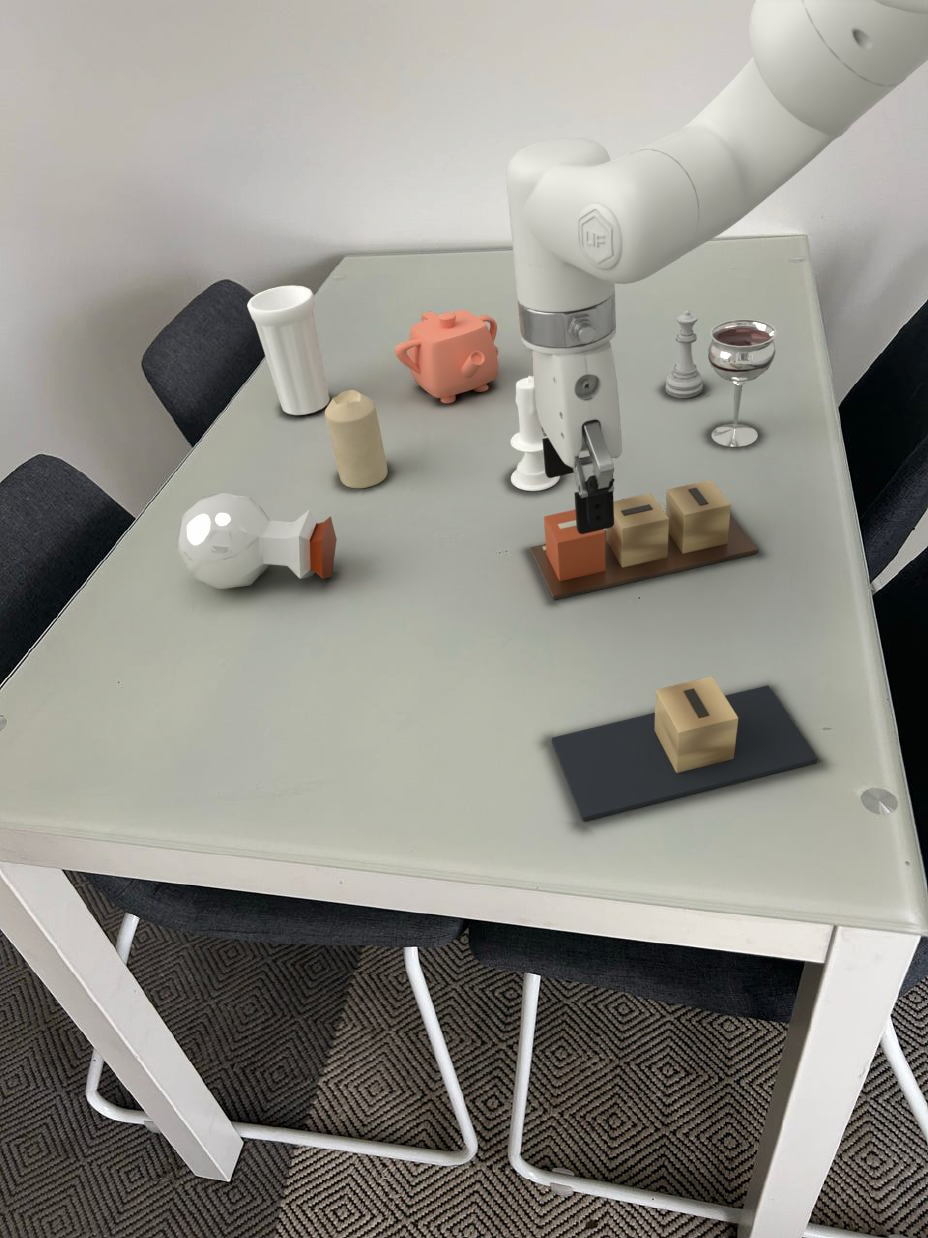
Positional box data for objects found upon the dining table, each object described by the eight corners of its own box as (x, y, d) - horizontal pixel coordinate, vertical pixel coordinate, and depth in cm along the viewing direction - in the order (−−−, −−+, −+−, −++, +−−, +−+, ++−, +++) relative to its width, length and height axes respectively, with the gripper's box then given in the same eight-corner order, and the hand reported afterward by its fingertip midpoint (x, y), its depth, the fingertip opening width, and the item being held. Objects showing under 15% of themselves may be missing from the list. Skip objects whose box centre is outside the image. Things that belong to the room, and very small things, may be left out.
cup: (347, 407, 119) (323, 298, 110) (288, 428, 117) (259, 318, 108) (323, 384, 125) (298, 279, 116) (266, 404, 123) (237, 298, 113)
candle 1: (386, 486, 104) (370, 405, 98) (337, 491, 104) (318, 411, 98) (390, 460, 108) (374, 381, 102) (343, 464, 109) (325, 386, 102)
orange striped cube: (590, 544, 91) (589, 505, 88) (605, 571, 88) (604, 531, 85) (546, 554, 91) (543, 515, 88) (559, 581, 87) (557, 542, 84)
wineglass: (763, 453, 101) (774, 348, 93) (699, 448, 103) (705, 345, 95) (768, 421, 105) (780, 319, 97) (707, 418, 107) (713, 317, 100)
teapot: (486, 413, 114) (478, 338, 108) (398, 405, 118) (385, 332, 112) (516, 369, 122) (510, 297, 116) (432, 363, 126) (422, 293, 120)
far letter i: (650, 531, 92) (651, 491, 89) (667, 557, 88) (669, 517, 85) (606, 541, 91) (605, 501, 88) (622, 567, 88) (621, 527, 85)
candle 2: (522, 462, 105) (514, 362, 97) (567, 468, 103) (562, 367, 95) (503, 487, 101) (493, 386, 93) (549, 495, 99) (542, 392, 91)
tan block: (709, 716, 73) (712, 674, 70) (734, 759, 69) (738, 717, 66) (654, 730, 72) (655, 688, 69) (676, 773, 69) (678, 731, 66)
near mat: (767, 689, 75) (768, 684, 74) (817, 762, 69) (818, 758, 68) (551, 741, 73) (551, 737, 73) (583, 821, 67) (582, 817, 67)
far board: (722, 508, 94) (722, 503, 94) (757, 553, 88) (758, 548, 87) (530, 551, 92) (530, 546, 92) (553, 600, 86) (553, 595, 86)
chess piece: (708, 394, 111) (713, 313, 105) (673, 401, 111) (676, 321, 105) (694, 378, 115) (698, 299, 108) (660, 385, 114) (662, 306, 108)
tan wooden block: (708, 518, 92) (711, 478, 89) (727, 543, 89) (731, 503, 86) (664, 527, 92) (666, 488, 89) (682, 554, 88) (684, 513, 85)
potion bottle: (195, 581, 97) (337, 592, 96) (156, 587, 87) (313, 600, 86) (199, 491, 96) (342, 502, 95) (160, 487, 86) (319, 499, 85)
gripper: (653, 349, 67) (653, 543, 78) (579, 271, 80) (588, 446, 91) (552, 371, 66) (566, 563, 77) (495, 289, 79) (514, 463, 90)
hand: (578, 500), depth 84 cm, fingers open, 9 cm apart
